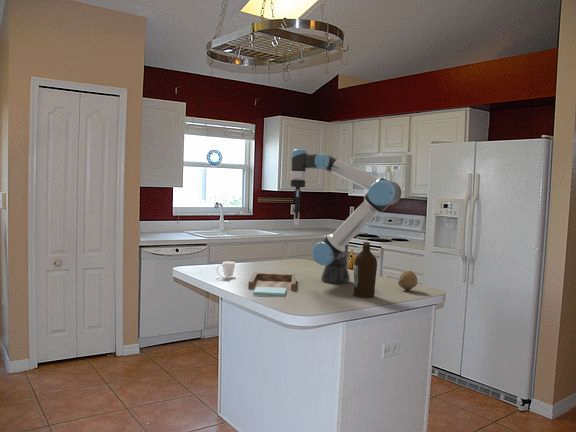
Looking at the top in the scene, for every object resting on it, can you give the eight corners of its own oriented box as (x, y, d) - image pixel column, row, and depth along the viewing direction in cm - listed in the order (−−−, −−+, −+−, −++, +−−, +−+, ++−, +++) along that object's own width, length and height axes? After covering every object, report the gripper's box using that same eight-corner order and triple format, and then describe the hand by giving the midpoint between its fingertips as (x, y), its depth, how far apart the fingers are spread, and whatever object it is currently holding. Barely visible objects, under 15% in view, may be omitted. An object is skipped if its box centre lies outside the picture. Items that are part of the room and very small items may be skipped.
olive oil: (373, 293, 245) (376, 241, 243) (377, 298, 234) (380, 244, 233) (351, 292, 245) (353, 240, 243) (353, 297, 234) (356, 243, 233)
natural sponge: (421, 291, 254) (422, 271, 254) (407, 293, 250) (408, 272, 249) (408, 288, 262) (409, 268, 261) (395, 289, 258) (396, 269, 257)
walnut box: (295, 282, 266) (296, 274, 266) (295, 292, 241) (295, 283, 241) (253, 280, 267) (253, 272, 267) (248, 290, 242) (248, 281, 242)
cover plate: (286, 293, 241) (286, 287, 241) (284, 298, 229) (284, 293, 229) (256, 291, 241) (256, 286, 241) (253, 297, 230) (253, 291, 229)
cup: (236, 278, 270) (237, 263, 270) (218, 279, 266) (218, 263, 266) (232, 276, 277) (233, 261, 276) (214, 276, 272) (215, 261, 272)
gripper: (291, 179, 274) (289, 223, 275) (290, 179, 261) (288, 225, 262) (305, 179, 274) (303, 224, 275) (305, 179, 261) (303, 226, 262)
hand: (296, 224), depth 269 cm, fingers closed
